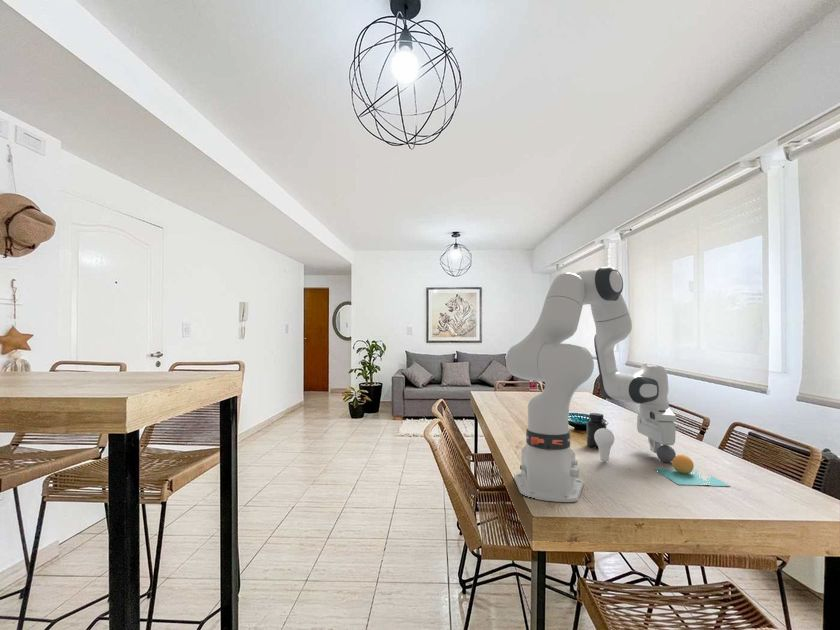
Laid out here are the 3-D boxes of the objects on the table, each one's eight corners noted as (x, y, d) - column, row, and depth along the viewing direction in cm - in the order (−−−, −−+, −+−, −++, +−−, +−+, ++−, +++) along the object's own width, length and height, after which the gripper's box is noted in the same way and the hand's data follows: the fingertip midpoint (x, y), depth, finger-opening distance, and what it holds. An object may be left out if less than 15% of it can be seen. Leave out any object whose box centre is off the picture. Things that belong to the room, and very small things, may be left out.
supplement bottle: (585, 443, 163) (584, 412, 163) (603, 444, 162) (603, 412, 162) (589, 448, 156) (589, 415, 157) (609, 449, 155) (608, 416, 156)
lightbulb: (609, 466, 134) (609, 431, 135) (591, 461, 139) (590, 428, 140) (618, 462, 138) (617, 428, 139) (599, 458, 143) (599, 425, 144)
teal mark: (730, 486, 117) (730, 486, 117) (678, 485, 118) (678, 484, 118) (701, 470, 131) (701, 470, 131) (654, 469, 132) (654, 468, 132)
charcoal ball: (664, 449, 144) (668, 465, 141) (651, 445, 143) (654, 462, 140) (677, 445, 139) (681, 461, 136) (663, 441, 138) (667, 458, 135)
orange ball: (683, 462, 132) (690, 478, 128) (666, 459, 132) (672, 476, 127) (692, 452, 128) (700, 469, 124) (675, 450, 128) (682, 466, 124)
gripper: (631, 406, 157) (632, 444, 156) (658, 416, 136) (659, 460, 136) (649, 406, 156) (650, 444, 156) (679, 417, 136) (680, 461, 135)
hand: (654, 452), depth 146 cm, fingers closed
